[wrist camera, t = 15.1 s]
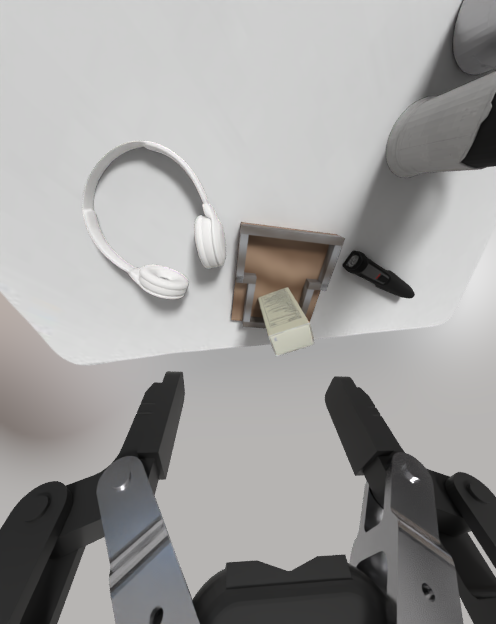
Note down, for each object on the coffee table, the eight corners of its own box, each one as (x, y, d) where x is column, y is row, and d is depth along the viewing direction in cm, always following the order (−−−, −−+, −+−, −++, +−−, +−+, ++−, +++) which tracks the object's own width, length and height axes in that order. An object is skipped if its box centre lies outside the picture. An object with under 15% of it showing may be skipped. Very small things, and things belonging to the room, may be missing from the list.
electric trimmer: (395, 297, 43) (406, 305, 40) (340, 266, 38) (348, 272, 35) (409, 282, 41) (422, 289, 38) (354, 248, 36) (363, 253, 34)
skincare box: (263, 314, 41) (274, 358, 31) (257, 296, 39) (265, 337, 29) (294, 304, 40) (315, 345, 30) (289, 285, 38) (310, 323, 28)
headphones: (245, 250, 28) (131, 92, 21) (155, 320, 33) (41, 209, 27) (247, 244, 34) (160, 121, 28) (171, 303, 39) (83, 210, 33)
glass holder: (400, 95, 26) (560, 9, 13) (504, 99, 27) (747, 21, 14) (377, 177, 31) (479, 171, 18) (465, 178, 31) (623, 174, 19)
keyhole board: (241, 222, 33) (241, 225, 30) (336, 234, 35) (344, 238, 32) (231, 317, 42) (231, 325, 40) (306, 322, 44) (311, 331, 42)
